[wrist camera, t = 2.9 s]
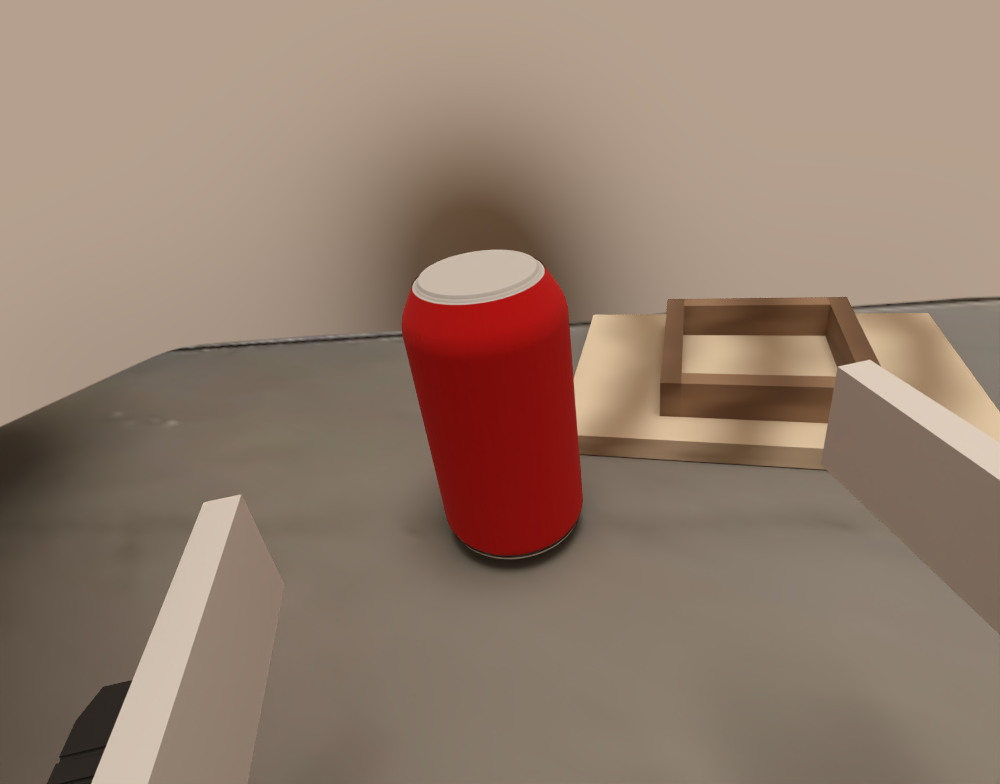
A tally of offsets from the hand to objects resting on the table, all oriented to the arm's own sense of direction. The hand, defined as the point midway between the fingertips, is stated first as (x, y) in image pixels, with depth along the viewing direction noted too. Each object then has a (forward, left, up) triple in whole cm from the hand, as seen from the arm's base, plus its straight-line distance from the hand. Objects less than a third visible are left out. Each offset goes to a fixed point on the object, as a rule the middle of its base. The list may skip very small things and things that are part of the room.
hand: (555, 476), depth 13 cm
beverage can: (-4, +9, -11) cm, 15 cm away
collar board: (+7, +21, -11) cm, 24 cm away
